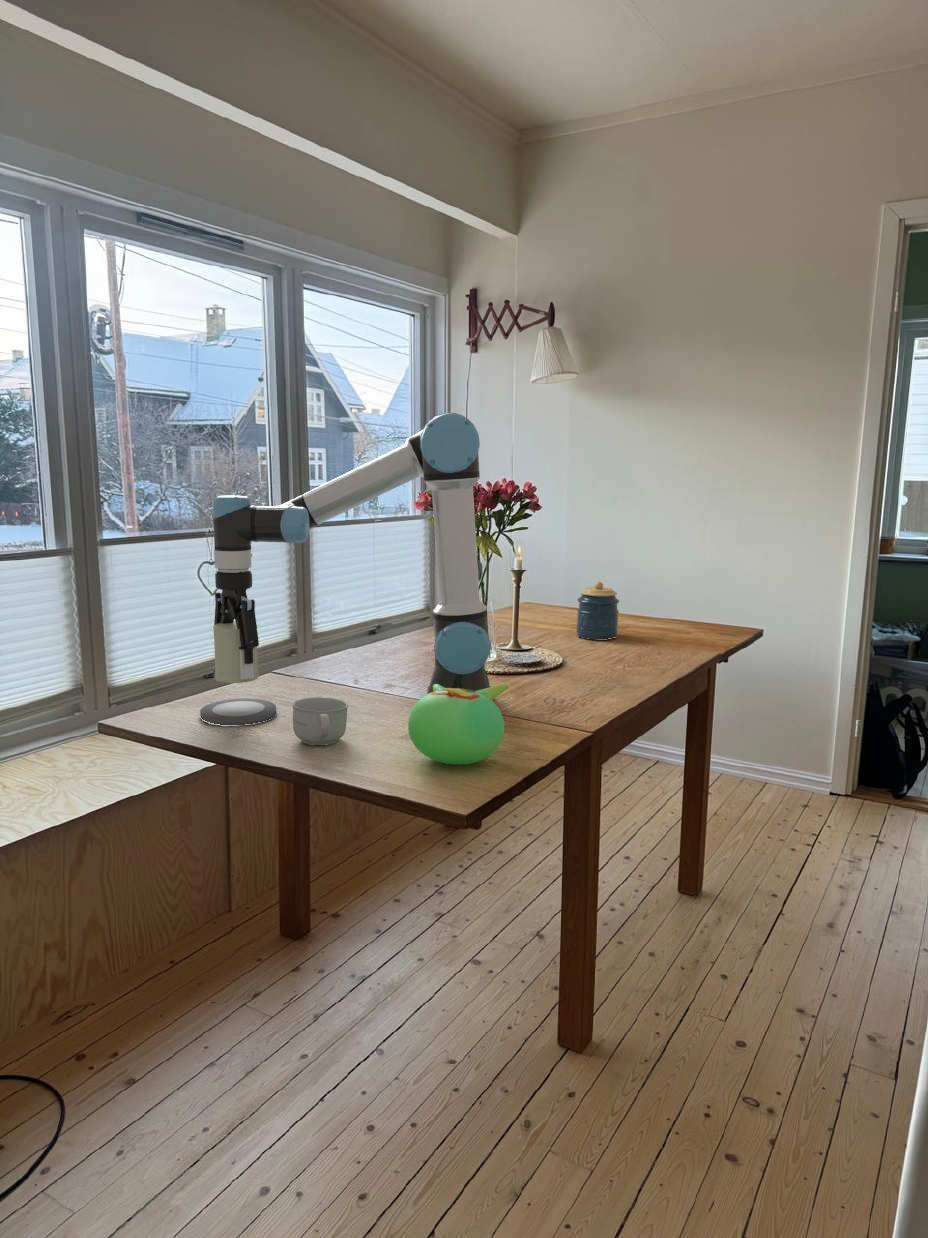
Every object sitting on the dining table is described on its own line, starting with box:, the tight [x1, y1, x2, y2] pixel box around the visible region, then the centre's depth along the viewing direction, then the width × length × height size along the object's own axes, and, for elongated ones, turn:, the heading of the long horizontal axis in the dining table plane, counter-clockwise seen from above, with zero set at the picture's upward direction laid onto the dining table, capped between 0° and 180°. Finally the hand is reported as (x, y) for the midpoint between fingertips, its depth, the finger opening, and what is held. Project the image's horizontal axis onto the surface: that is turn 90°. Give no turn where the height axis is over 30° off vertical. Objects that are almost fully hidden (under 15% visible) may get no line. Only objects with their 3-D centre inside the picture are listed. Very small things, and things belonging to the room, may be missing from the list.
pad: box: [199, 698, 277, 725], centre depth 190 cm, size 16×16×2 cm
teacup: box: [292, 696, 349, 746], centre depth 172 cm, size 14×11×8 cm
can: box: [212, 620, 260, 684], centre depth 187 cm, size 9×9×12 cm
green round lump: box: [407, 684, 510, 766], centre depth 163 cm, size 18×17×15 cm
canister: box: [575, 580, 620, 639], centre depth 275 cm, size 13×13×18 cm
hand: (236, 673), depth 188 cm, fingers closed on can, 9 cm apart
